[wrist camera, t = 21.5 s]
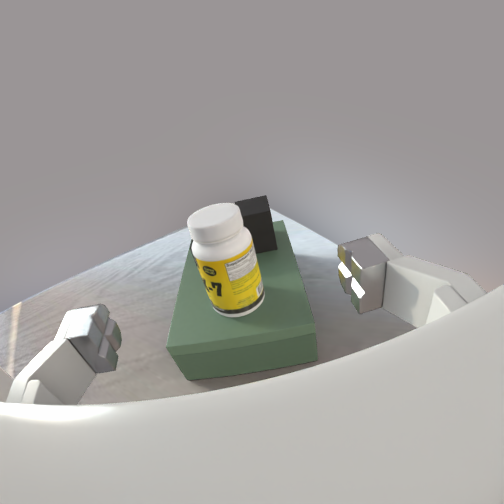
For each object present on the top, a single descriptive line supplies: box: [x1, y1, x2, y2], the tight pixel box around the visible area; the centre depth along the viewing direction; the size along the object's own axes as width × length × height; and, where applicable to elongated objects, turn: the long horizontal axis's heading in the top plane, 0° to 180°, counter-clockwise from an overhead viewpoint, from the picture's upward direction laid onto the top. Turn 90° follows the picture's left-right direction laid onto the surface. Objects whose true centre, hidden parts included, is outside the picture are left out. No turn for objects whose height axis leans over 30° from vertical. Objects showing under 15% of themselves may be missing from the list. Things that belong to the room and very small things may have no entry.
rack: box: [166, 220, 318, 380], centre depth 31 cm, size 12×18×5 cm, turn 3°
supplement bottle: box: [187, 203, 265, 317], centre depth 23 cm, size 5×5×8 cm
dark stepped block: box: [190, 196, 278, 266], centre depth 32 cm, size 9×4×5 cm, turn 93°
